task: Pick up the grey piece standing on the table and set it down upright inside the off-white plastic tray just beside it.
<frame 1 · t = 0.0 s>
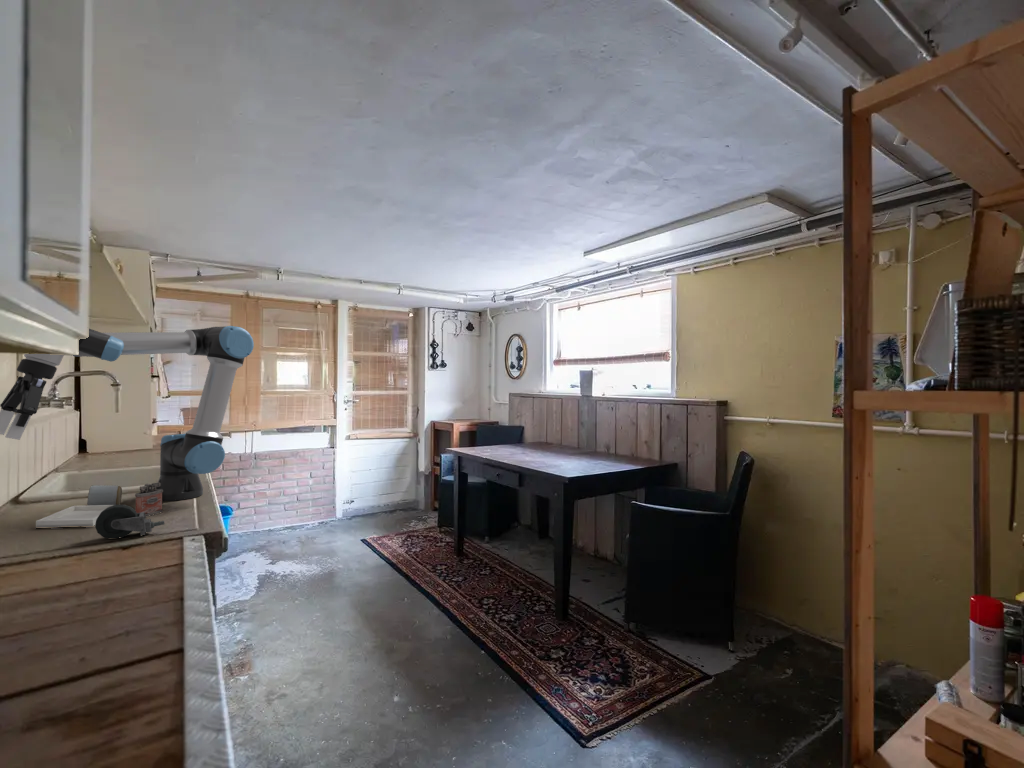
hand: (4, 436, 129), 28 cm above the worktop, tool tilted 20°, fingers open, 13 cm apart
caster wheel: (130, 536, 135), on the worktop
trough tray: (82, 519, 147), on the worktop
grey piece: (104, 507, 161), on the worktop
red mechanical device: (148, 515, 155), on the worktop
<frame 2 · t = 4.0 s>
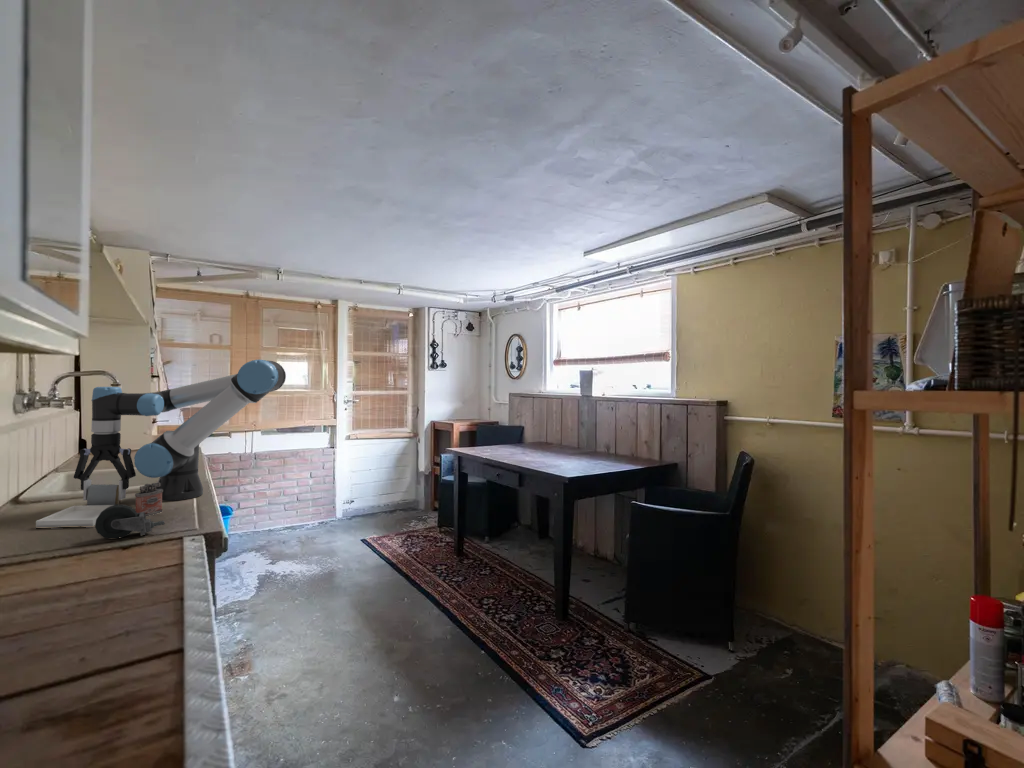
hand: (104, 499, 161), 3 cm above the worktop, tool pointing down, fingers closed on grey piece, 9 cm apart
grey piece: (103, 506, 162), on the worktop, touching gripper
everything else where it was.
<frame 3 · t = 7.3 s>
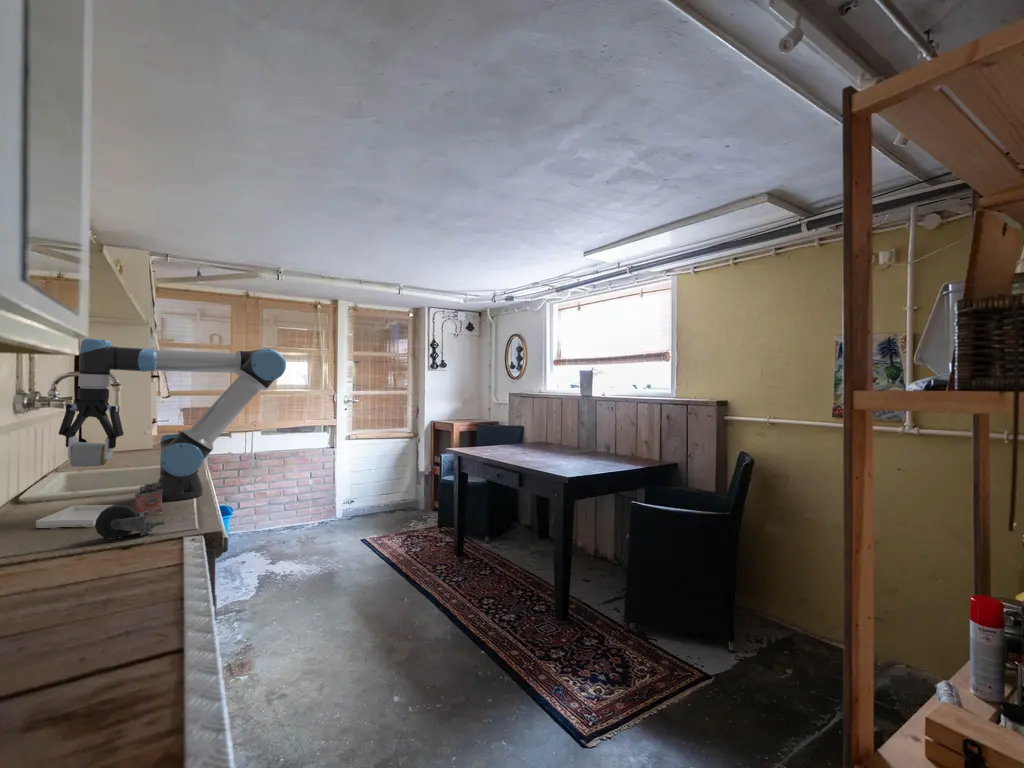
hand: (90, 458, 152), 18 cm above the worktop, tool pointing down, fingers closed on grey piece, 9 cm apart
grey piece: (89, 465, 153), point 15 cm above the worktop, touching gripper
everything else where it was.
when the fingers open (5 cm above the worktop, at t = 10.6 s): grey piece drops 1 cm, resting on trough tray.
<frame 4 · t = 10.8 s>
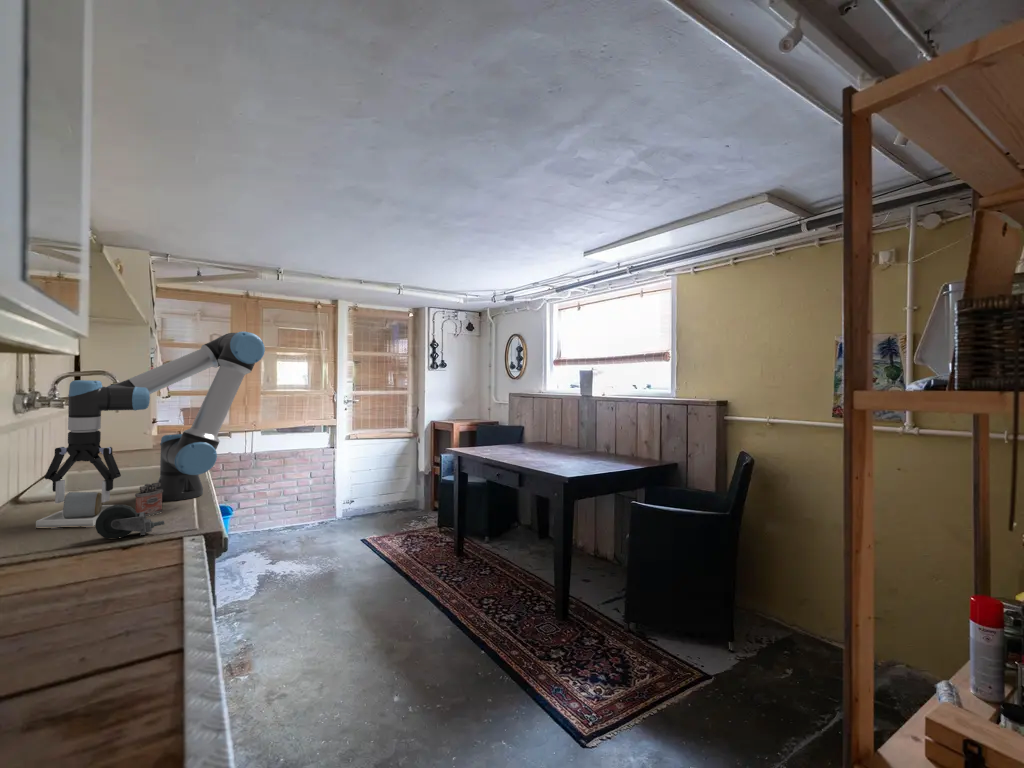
hand: (82, 501, 147), 6 cm above the worktop, tool pointing down, fingers open, 11 cm apart
grey piece: (83, 516, 148), point 1 cm above the worktop, touching trough tray
everything else where it was.
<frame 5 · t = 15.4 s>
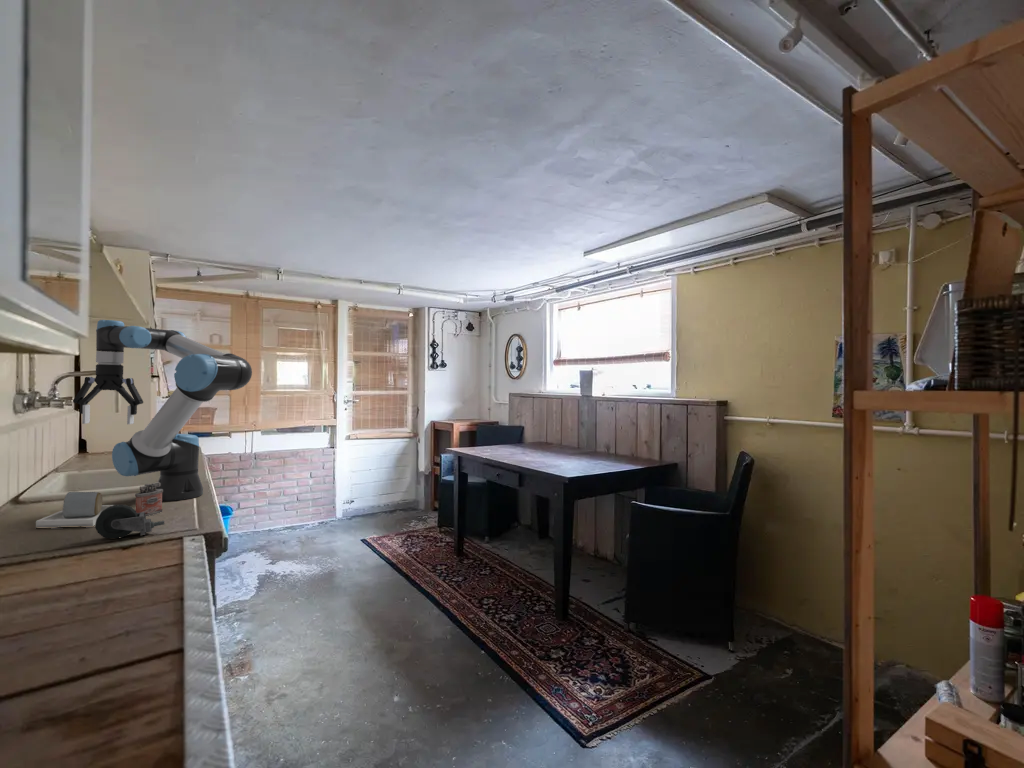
hand: (108, 423, 170), 27 cm above the worktop, tool pointing down, fingers open, 13 cm apart
nothing on the worktop moved.
at the end: grey piece inside the target area on the trough tray (1.7 cm from its centre), point 0.8 cm above the trough tray's base; grey piece tilted 1°; the gripper is holding nothing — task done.
